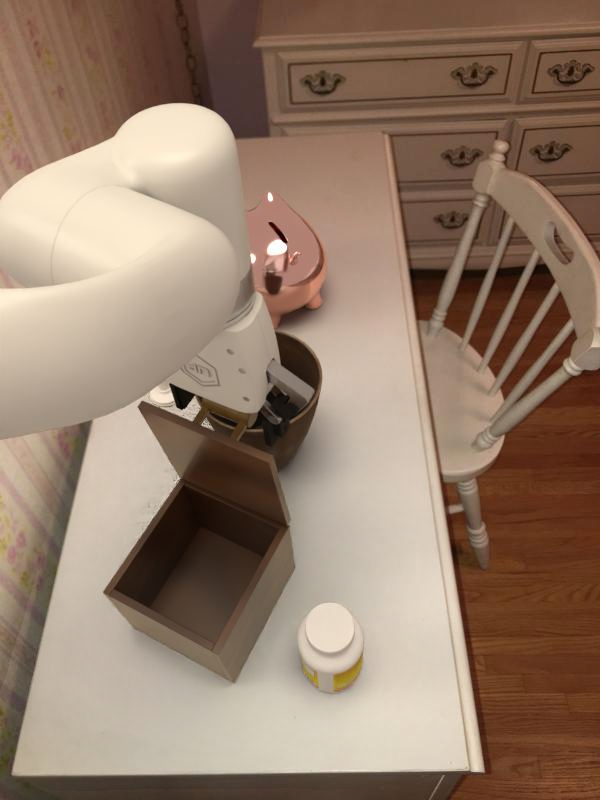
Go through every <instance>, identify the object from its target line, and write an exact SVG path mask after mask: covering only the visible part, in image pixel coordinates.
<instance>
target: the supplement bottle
mask: <svg viewBox="0 0 600 800" xmlns="http://www.w3.org/2000/svg"><path fill="white" fill-rule="evenodd" d="M296 644H297V649H298V654H299V659H300V664H301V668H302V672H303V674H304V676H305V679H307V681H308V683H310V684H311V685H312V686H313V687H314V688H316V689H317V690H319V691H320V692H324V693H327V694H336V693H342V692H344V691H346V690H348V689H350V688H351V687H353V685H354V684H355V683H356V682H357V680H358V678H359V677H360V674H361V671H362V667H363V661H364V651H365V650H364V648H365V634H364V629H363V626H362V624H361V622H360V620H359V619H358V617H357V616H356V615H355V614H354V612H352V611H351V610H350V609H348V608H346V607H345V606H344V605H341V604H340V603H336V602H331V601H328V602H322V603H319V604H318V605H317V606H315V607H314V608H312V609H310V610H309V611H308V612H307V613H306V614H305V615H304V617H303V618H302V619H301V621H300V623H299V625H298V629H297V634H296Z"/></svg>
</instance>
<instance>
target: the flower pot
mask: <svg viewBox="0 0 600 800" xmlns="http://www.w3.org/2000/svg"><path fill="white" fill-rule="evenodd" d="M274 331H275V335H276V339H277V344H278V349H279V356H280V363H281V366H283V367H284V368H286V369H287V370H288V371H290V372H291V373H293V374H294V375H295V376H297V377H298V378H299V379H301V380H302V381H304V382H305V383H306V384H308V385H309V386H311V387H312V388H313V389H314V390H315V393H314V395H313V396H312V398H311V399H310V401H309V403H308V404H307V405H306V406H305V407H304V408H303V409H302V410H300V411H299V412H298V414H297V415H296V416H293V417H289V421H290V426H289V429H288V431H287V433H286V435H285V436H284V437H283V438H281V437H279V438H278V439H277V441H276V443H275V444H274V446H273V447H270V446H267V445H266V443H265V438H264V432H263V425H262V421H263V419H264V417H265V416H264V415H263V414H262V413H261V412H260V411H258V415H257V418H256V421H255V423H254V424H253V425H252V426H251V427H247V428H246V430H245V431H244V433H243V435H242V436H241V438H240V440H239V441H240V442H242V443H245V444H247V445H249V446H252V447H254V448H257V449H259V450H261V451H264V452H266V453H268V454H271V455H273V457H274V460H275V464H276V468H277V471H279V470H280V469H283V468H284V467H286V466H287V465H288V464H289V463H290V462H291V461H292V460H293V458H294V457H295V455H296V454H297V452H298V451H299V450H300V448H301V446H302V444H303V443H304V442H305V439H306V437H307V435H308V432H309V430H310V428H311V426H312V423H313V420H314V417H315V414H316V411H317V408H318V405H319V400H320V397H321V396H320V395H321V391H322V385H323V369H322V365H321V362H320V360H319V358H318V355H317V354H316V353H315V351H314V350H313V348H311V346H310V345H308V344H307V343H306V342H305V341H303V340H302V339H300V338H299V337H297V336H295V335H293V334H291V333H288V332H285V331H283V330H279V329H275V330H274ZM194 398H195V400H196V402H197V404H198V405H199V407H200V408H201V407H202V406H201V402H202V399H203V397H201V396H199V395H195V396H194ZM276 398H277V397H276V396H275V395H274V394H273V393H272V392H271V391H270V392H269V394H268V395H267V397H266V400H267V401H268V402H269V403H270V404H271V405H272V403H273V402H274V400H275V399H276ZM206 420H207V422H208V423H209V425H210V427H211V428H212V430H214V431H216V432H219V433H221V434H223V435H226V436H228V437H230V436H231V434H232V433H233V431H234V429H235V428H236V426H237V425H238V423H236V422H234V421H231V420H229V419H226V418H224V417H222V416H219V415H217V414H214V413H212V412H209V414H208V416H207V417H206Z"/></svg>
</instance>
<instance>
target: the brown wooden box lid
mask: <svg viewBox="0 0 600 800" xmlns="http://www.w3.org/2000/svg"><path fill="white" fill-rule="evenodd" d="M201 406H202V407H200V409H199V410H198V412H197V414H196V415H195V417H194V418H193V420H190V419H187V418H185V417H183V416H180V415H178V414H176V413H173V412H171V411H168V410H167V409H163V408H161V407H160V406H158V405H154V404H152V403H149V402H147V401H144V400H141V401H140V403H138V405H137V409H138V411H139V412H140V415H142V417H143V419H144V420H145V422H146V424H147V426H148V427H149V429H150V431H151V432H152V434H153V436H154V437H155V439H156V441H157V442H158V444H159V446H160V447H161V450H162V451H163V453H164V454H165V456H166V458H167V459H168V461H169V462H170V464H171V466H172V468H173V469H174V471H175V473H176V474H177V476H178V477H179V479H181V478H182V479H185V480H187V481H189V482H191V483H193V484H196V485H198V486H200V487H202V488H204V489H207V490H209V491H211V492H213V493H215V494H218V495H220V496H222V497H224V498H226V499H229V500H231V501H233V502H235V503H237V504H240V505H242V506H244V507H246V508H248V509H251V510H253V511H255V512H257V513H259V514H262V515H264V516H266V517H268V518H270V519H273V520H275V521H277V522H279V523H281V524H284V525H286V526H288V525H290V523H291V521H292V519H291V518H292V517H291V514H290V512H289V511H290V510H289V507H288V505H287V500H286V497H285V493H284V490H283V486H282V482H281V479H280V475H279V470H277V468H276V464H275V460H274V457H273V455H271V454H268V453H266V452H264V451H261V450H259V449H257V448H254V447H252V446H249V445H247V444H245V443H242V442H240V441H239V440H240V438H241V436H242V435H243V433H244V431H245V430H246V428H247V427H251V426H252V425H253V424H254V423H255V421H256V418H257V415H258V412H256V413H243V412H240V411H237V410H234V409H231V408H229V407H226V406H224V405H221V404H218V403H216V402H213V401H211V400H208V399H206V398H203V399H202V402H201ZM209 412H212V413H214V414H217V415H219V416H222V417H224V418H226V419H229V420H231V421H234V422H236V423H238V425H237V426H236V428H235V429H234V431H233V433H232V434H231V436H230V437H228V436H226V435H223V434H221V433H219V432H216V431H214V429H211V428H209V427H207V426H204V425H203V424H204V422H205V421H206V420H207V418H206V417H207V416H208V414H209Z"/></svg>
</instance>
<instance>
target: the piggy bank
mask: <svg viewBox="0 0 600 800" xmlns="http://www.w3.org/2000/svg"><path fill="white" fill-rule="evenodd" d="M245 212H246V220H247V228H248V237H249V245H250V253H251V259H252V266H253V274H254V282H255V290H256V291H258V292H259V293H261V294H262V296H263V299H264V301H265V304H266V306H267V309H268V312H269V314H270V317H271V320H272V324H273V327H274V330H278V328H279V327H280V324H281V321H282V317H283V316H284V315H287V314H289V313H292V312H295V311H296V310H297V311H298V310H299V309H301V308H303V307H306V309H309V310H317V309H318V308H320V307H321V306H322V304H323V301H322V296H321V294H320V290H321V288H322V286H323V284H324V281H325V278H326V276H327V270H328V259H327V254H326V253H327V252H326V249H325V246H324V244H323V241H322V239H321V238H320V236H319V234H318V233H317V231H316V230H315V229H314V228H313V226H312V225H311V224H310V223H309V222H308V221H307V220H306V219H305V218H304V217H303V216H302V215H300V213H298V212H297V211H296V210H295V209H293V208H292V207H291V206H290V205H289V204H288V203H287V202H286V201H285V200H284V199H283V198H282V197H281V196H280V195H279V194H278V193H277V192H275V191H274V190H271V189H268V190H266V191H265V192H264V194H263V195H262V197H261V198H260V201H259V203H258V204H257V205H256V206H255V207H253V208H251V209H248V210H246V209H245Z"/></svg>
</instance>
